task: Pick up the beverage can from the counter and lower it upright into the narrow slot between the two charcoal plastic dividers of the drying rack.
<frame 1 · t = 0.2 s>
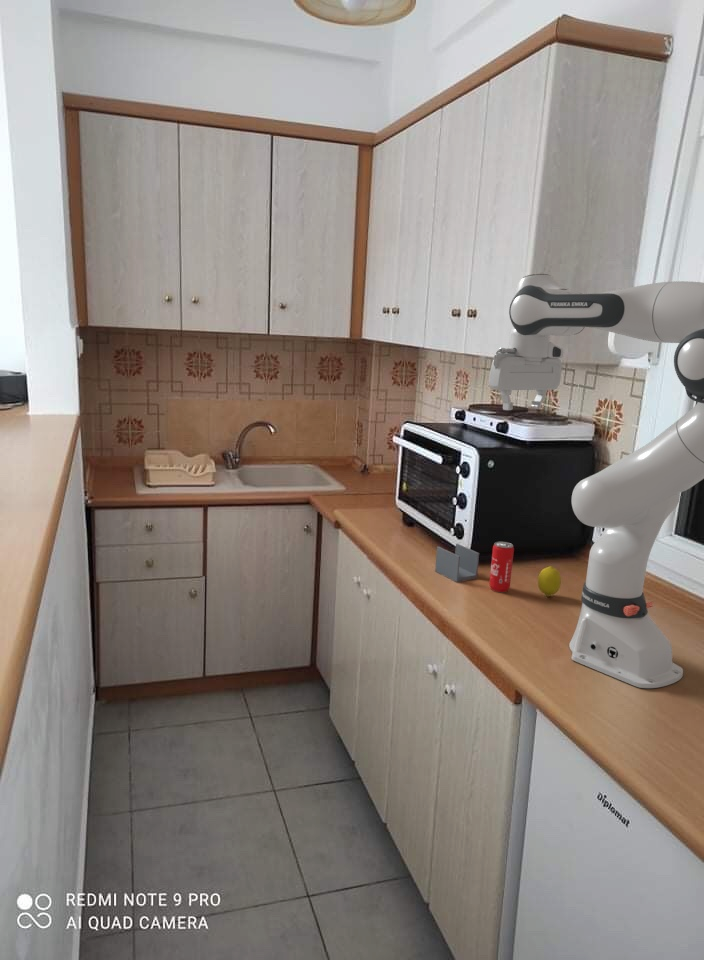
hand: (521, 409, 165), 47 cm above the worktop, tool pointing down, fingers open, 8 cm apart
rack: (455, 574, 192), on the worktop
lemon: (547, 597, 180), on the worktop
beverage can: (499, 589, 183), on the worktop
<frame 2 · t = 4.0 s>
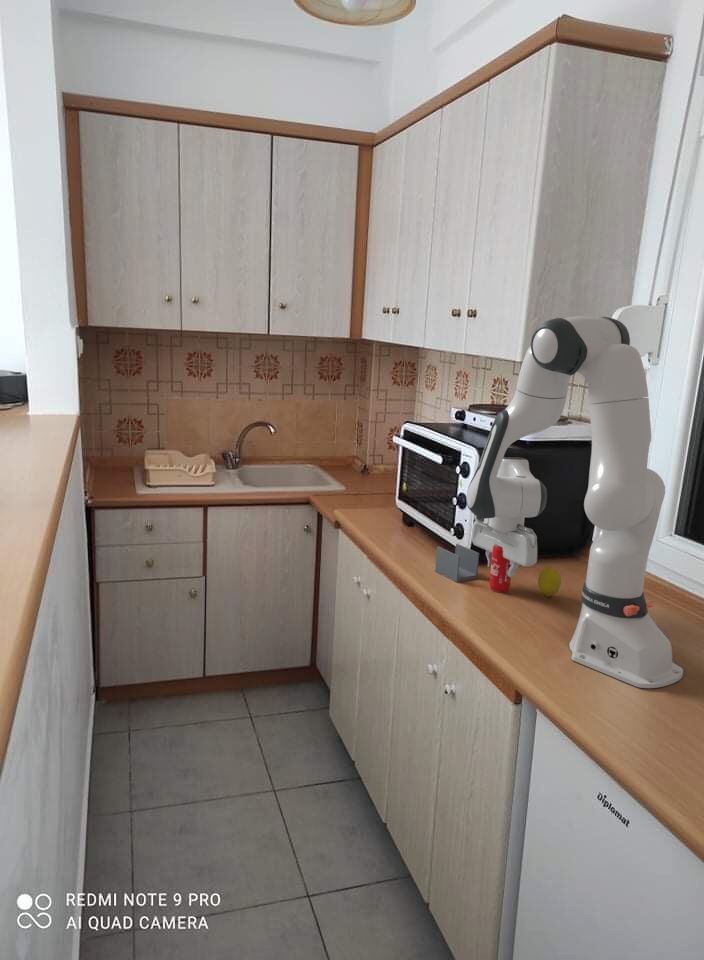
hand: (500, 572, 182), 5 cm above the worktop, tool pointing down, fingers closed on beverage can, 5 cm apart
beverage can: (499, 589, 183), on the worktop, touching gripper
everything else where it was.
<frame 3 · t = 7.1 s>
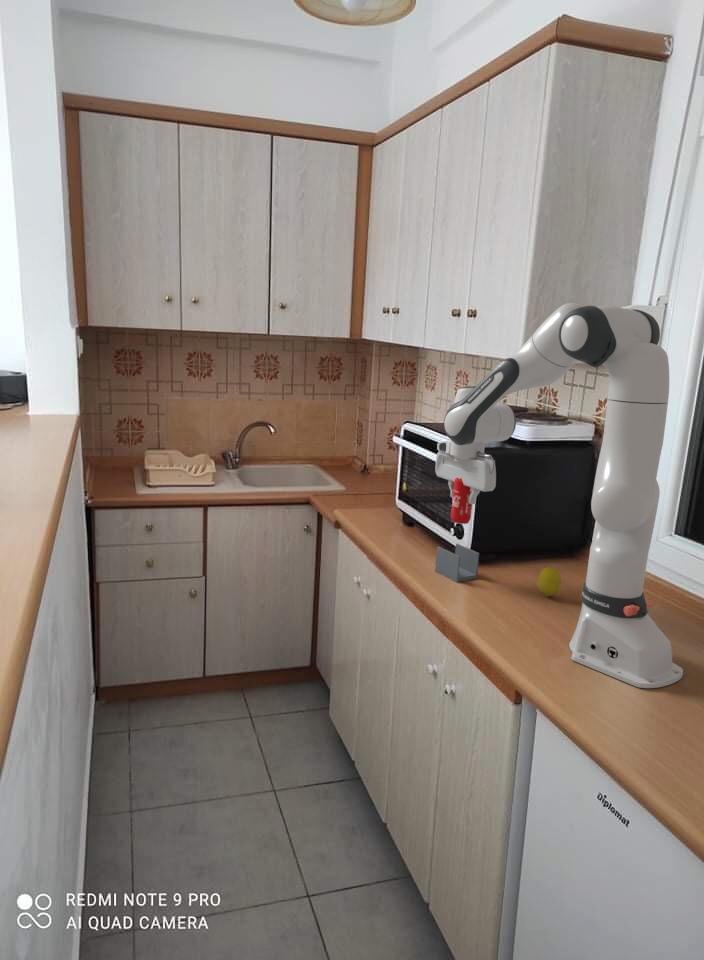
hand: (462, 500, 187), 21 cm above the worktop, tool pointing down, fingers closed on beverage can, 5 cm apart
beverage can: (460, 522, 188), point 15 cm above the worktop, touching gripper
everything else where it was.
when the fingers open (7 cm above the worktop, at t = 10.3 s): beverage can stays where it is, resting on rack.
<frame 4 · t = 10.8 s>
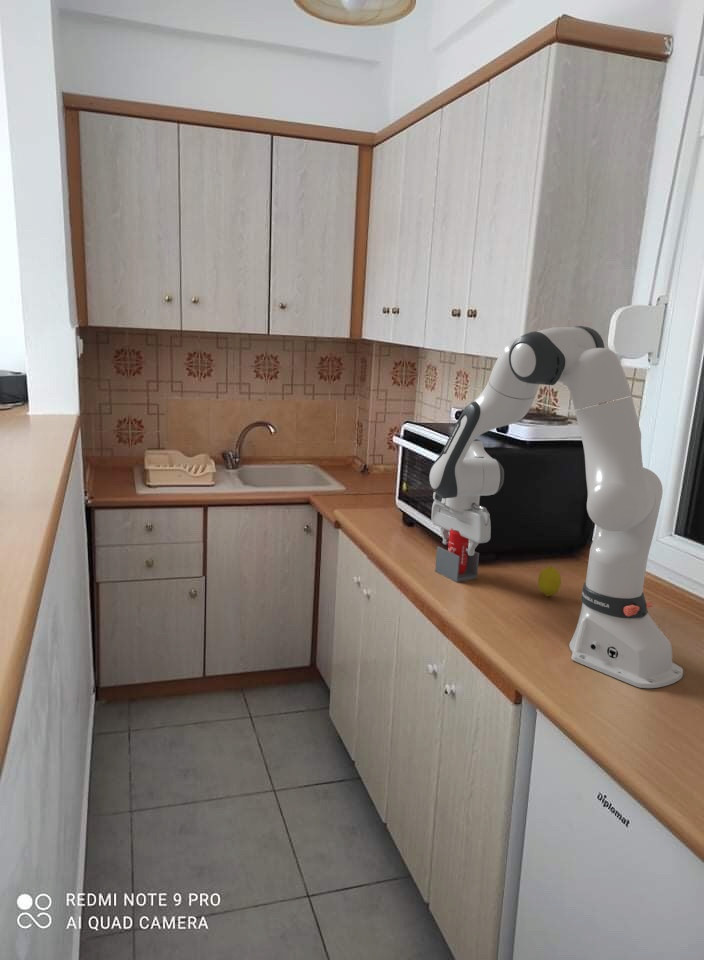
hand: (458, 549, 190), 7 cm above the worktop, tool pointing down, fingers open, 8 cm apart
beverage can: (456, 572, 191), point 1 cm above the worktop, touching rack
everything else where it was.
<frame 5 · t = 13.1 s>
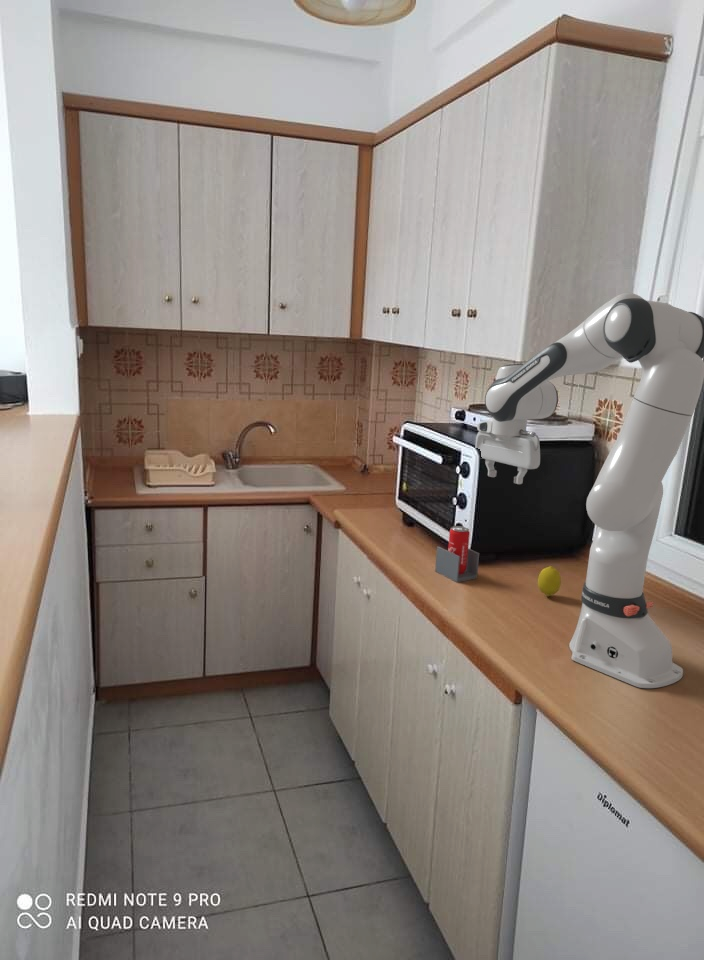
hand: (504, 480, 186), 27 cm above the worktop, tool pointing down, fingers open, 8 cm apart
nothing on the worktop moved.
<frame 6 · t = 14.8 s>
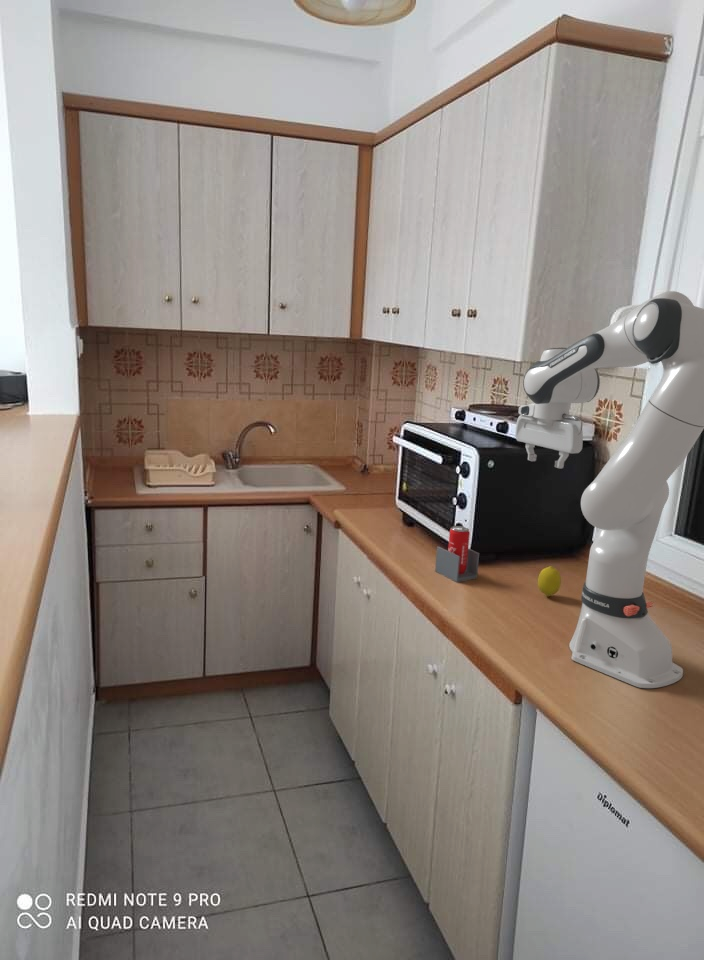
hand: (545, 464, 186), 31 cm above the worktop, tool pointing down, fingers open, 8 cm apart
nothing on the worktop moved.
at the end: beverage can 0.2 cm off-centre on the rack, point 0.8 cm above the rack's base; beverage can tilted 0°; the gripper is holding nothing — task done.
